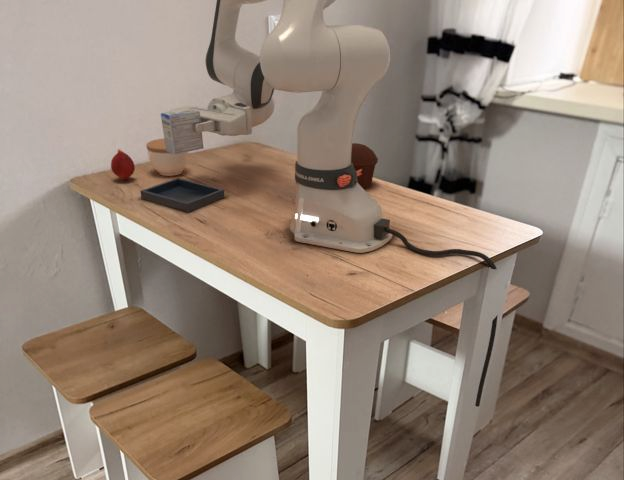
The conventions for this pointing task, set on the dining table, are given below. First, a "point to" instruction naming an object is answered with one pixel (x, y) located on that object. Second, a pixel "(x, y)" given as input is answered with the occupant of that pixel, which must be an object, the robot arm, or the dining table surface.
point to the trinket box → (165, 159)
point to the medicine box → (181, 131)
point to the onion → (122, 165)
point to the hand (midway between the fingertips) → (184, 126)
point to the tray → (182, 194)
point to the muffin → (363, 163)
